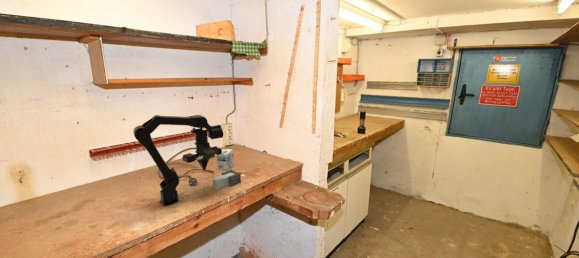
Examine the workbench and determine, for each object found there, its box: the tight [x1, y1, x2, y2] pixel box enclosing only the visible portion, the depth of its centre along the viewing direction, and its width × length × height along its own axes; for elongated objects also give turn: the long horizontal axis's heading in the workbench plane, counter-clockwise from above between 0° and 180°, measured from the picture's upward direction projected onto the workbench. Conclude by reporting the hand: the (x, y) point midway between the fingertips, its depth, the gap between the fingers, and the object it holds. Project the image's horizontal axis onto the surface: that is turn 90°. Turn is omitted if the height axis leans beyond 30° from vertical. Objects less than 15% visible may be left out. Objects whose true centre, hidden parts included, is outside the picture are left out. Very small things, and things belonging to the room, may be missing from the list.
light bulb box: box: [216, 148, 235, 171], centre depth 165 cm, size 11×7×11 cm, turn 169°
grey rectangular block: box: [212, 173, 234, 190], centre depth 140 cm, size 12×4×5 cm, turn 138°
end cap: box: [221, 169, 242, 187], centre depth 143 cm, size 6×8×6 cm
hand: (204, 170), depth 130 cm, fingers closed
